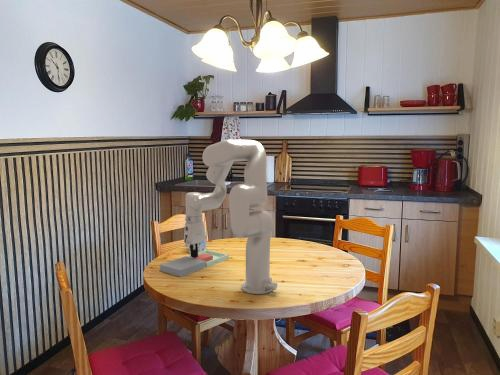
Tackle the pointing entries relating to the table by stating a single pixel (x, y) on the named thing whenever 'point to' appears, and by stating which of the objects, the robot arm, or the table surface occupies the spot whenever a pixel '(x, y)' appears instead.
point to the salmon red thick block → (204, 257)
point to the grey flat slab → (182, 266)
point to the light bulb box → (202, 244)
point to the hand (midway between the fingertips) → (194, 256)
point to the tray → (214, 257)
